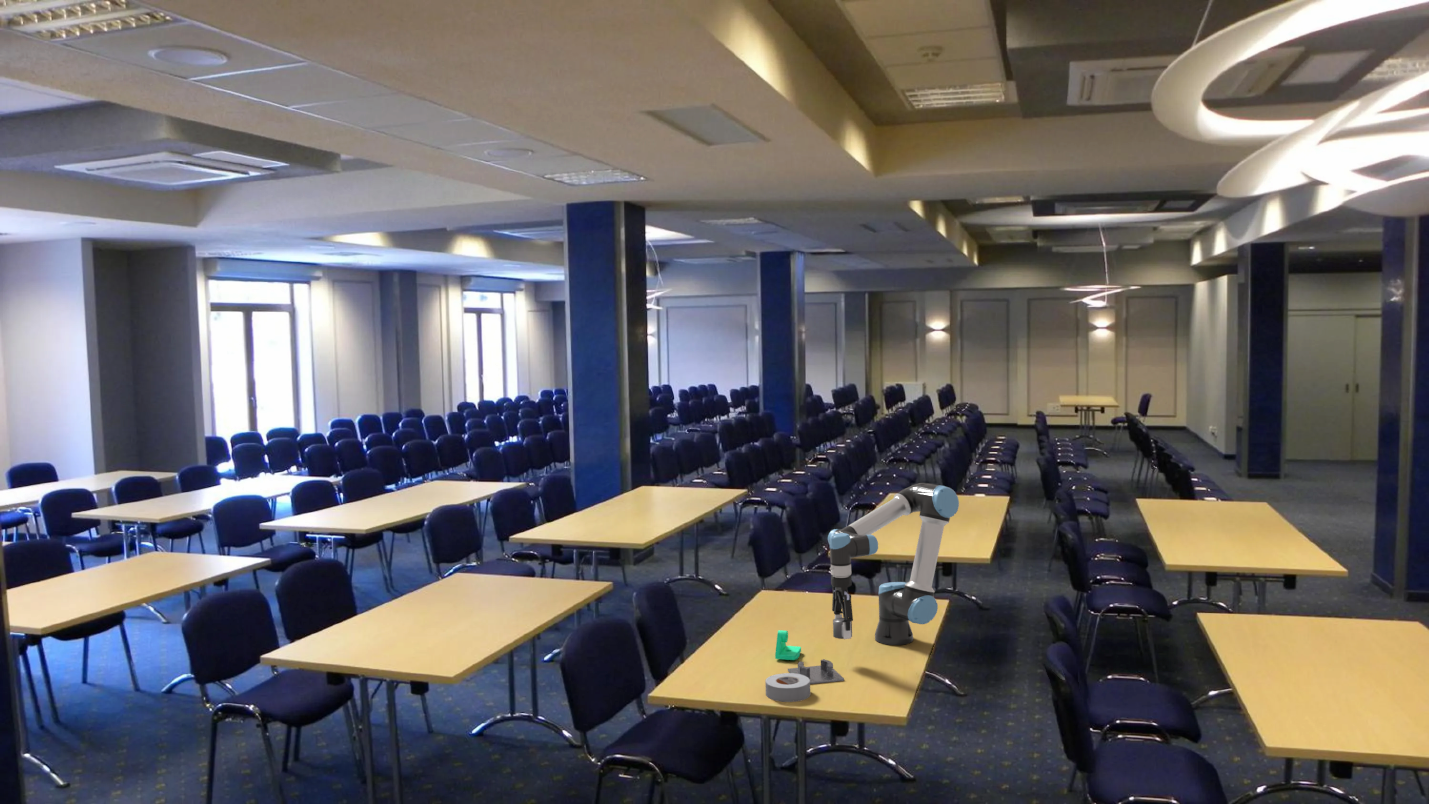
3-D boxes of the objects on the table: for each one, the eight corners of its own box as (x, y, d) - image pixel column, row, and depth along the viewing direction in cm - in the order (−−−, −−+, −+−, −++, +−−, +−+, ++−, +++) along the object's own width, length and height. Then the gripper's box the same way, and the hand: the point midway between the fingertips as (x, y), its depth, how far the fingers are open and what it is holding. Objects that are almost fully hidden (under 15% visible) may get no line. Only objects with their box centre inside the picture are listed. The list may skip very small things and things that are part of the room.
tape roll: (766, 703, 336) (766, 688, 336) (764, 687, 351) (764, 673, 351) (812, 702, 336) (812, 687, 336) (808, 686, 351) (807, 672, 351)
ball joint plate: (829, 666, 371) (828, 655, 371) (844, 680, 356) (843, 668, 355) (787, 670, 368) (787, 659, 367) (801, 685, 352) (800, 673, 352)
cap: (847, 632, 379) (847, 616, 378) (855, 638, 371) (855, 622, 370) (830, 633, 377) (829, 618, 377) (837, 640, 369) (837, 624, 369)
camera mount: (795, 662, 377) (794, 636, 376) (775, 661, 379) (774, 634, 379) (801, 653, 388) (801, 627, 388) (782, 651, 391) (781, 625, 390)
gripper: (822, 569, 382) (824, 628, 383) (841, 582, 361) (843, 644, 363) (840, 568, 383) (842, 626, 385) (860, 580, 363) (862, 642, 365)
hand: (843, 634), depth 374 cm, fingers closed on cap, 8 cm apart
